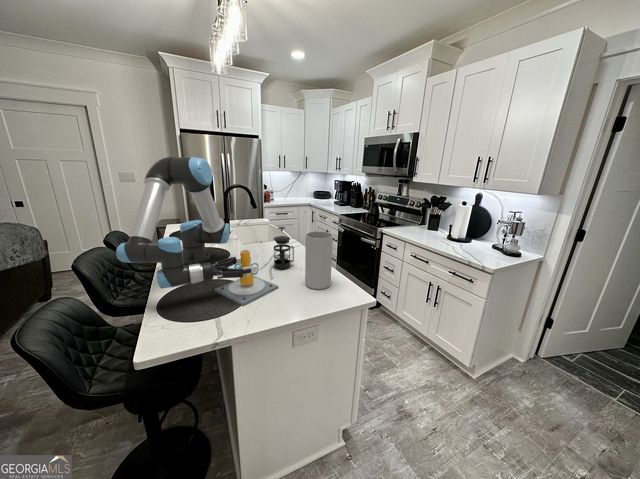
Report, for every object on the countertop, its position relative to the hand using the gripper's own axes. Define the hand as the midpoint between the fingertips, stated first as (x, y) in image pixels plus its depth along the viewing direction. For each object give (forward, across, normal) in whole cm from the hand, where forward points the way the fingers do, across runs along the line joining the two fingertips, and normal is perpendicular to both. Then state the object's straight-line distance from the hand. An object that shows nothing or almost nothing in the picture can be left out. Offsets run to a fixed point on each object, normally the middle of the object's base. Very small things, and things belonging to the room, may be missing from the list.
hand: (254, 263), depth 115 cm
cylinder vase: (+28, +9, -12) cm, 32 cm away
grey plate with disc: (-4, 0, -12) cm, 13 cm away
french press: (+21, -18, -12) cm, 30 cm away
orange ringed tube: (-4, 0, -9) cm, 9 cm away
